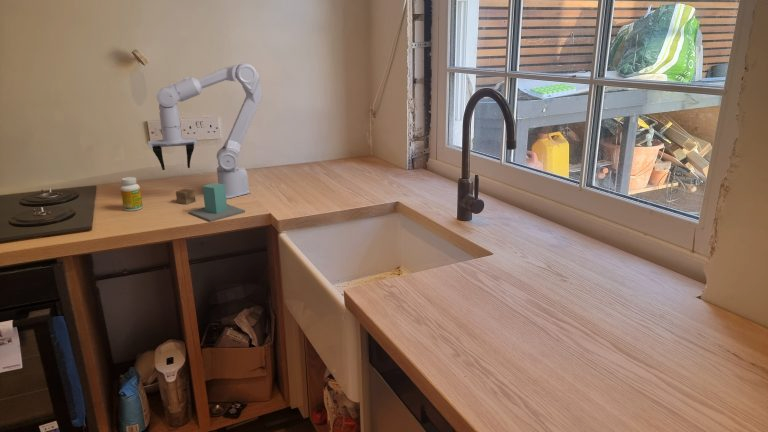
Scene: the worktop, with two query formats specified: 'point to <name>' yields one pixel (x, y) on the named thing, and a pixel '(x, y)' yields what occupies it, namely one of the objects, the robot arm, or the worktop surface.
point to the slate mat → (212, 216)
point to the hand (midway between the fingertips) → (176, 168)
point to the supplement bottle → (131, 194)
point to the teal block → (214, 198)
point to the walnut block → (185, 196)
